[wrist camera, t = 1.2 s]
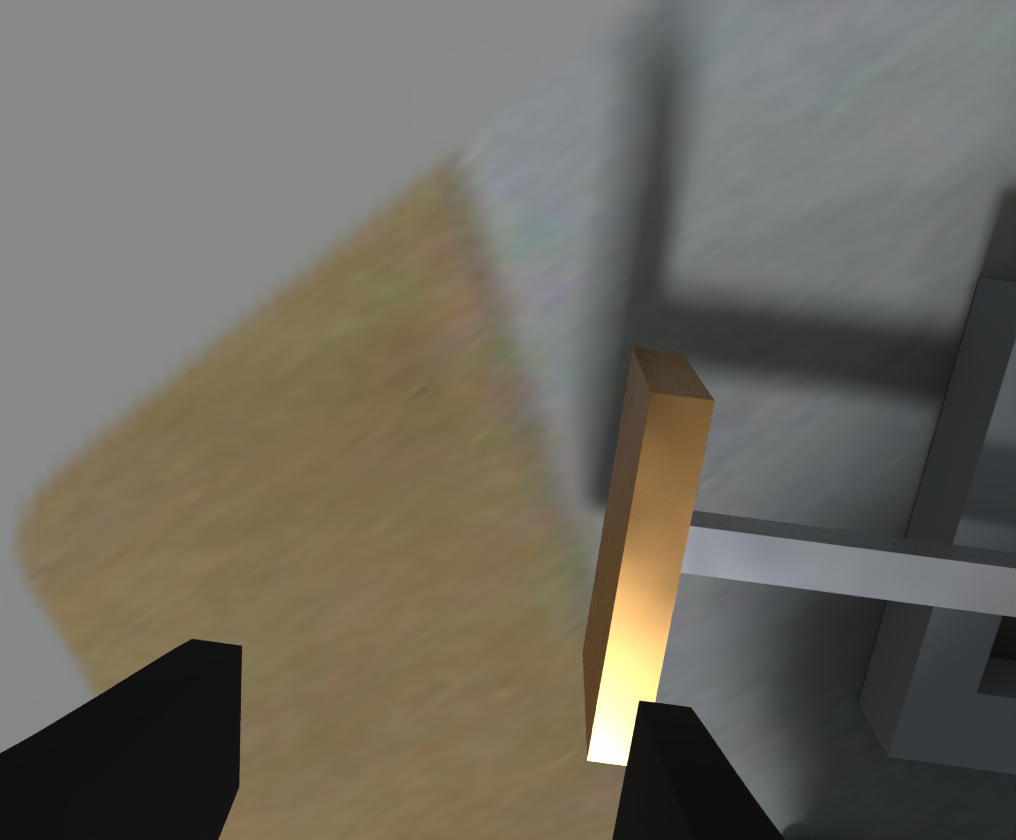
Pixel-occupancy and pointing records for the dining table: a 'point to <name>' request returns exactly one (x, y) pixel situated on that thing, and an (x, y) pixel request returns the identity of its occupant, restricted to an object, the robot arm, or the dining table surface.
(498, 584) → the dining table surface
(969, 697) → the tunnel deck
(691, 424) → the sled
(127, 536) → the dining table surface
